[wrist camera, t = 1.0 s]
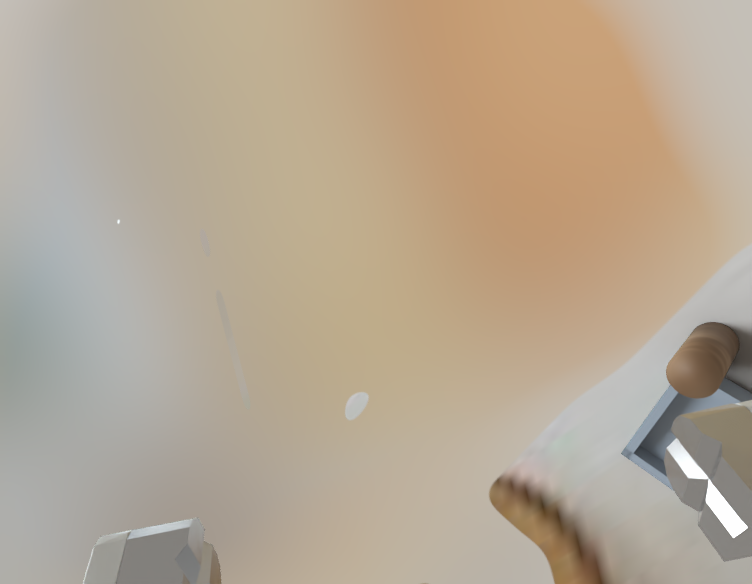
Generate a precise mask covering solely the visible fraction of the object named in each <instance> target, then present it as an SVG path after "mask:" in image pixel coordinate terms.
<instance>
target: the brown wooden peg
mask: <svg viewBox="0 0 752 584" xmlns="http://www.w3.org/2000/svg"><path fill="white" fill-rule="evenodd" d="M738 350H739V340H738V337H737V335H736V334H735V332H734V331H733V330H732V329H730V328H729V327H728V326H726V325H724V324H721V323H716V322H709V323H704V324H701V325H699V326H698V327H697V328H695V329H694V331H693V332H692V333H691V334H690V336H689V337H688V338H687V340H686V341H685V342H684V343H683V345H682V346H681V347H680V349H679V350H678V351H677V352H676V354H675V355H674V356H673V358H672V359H671V360H670V361H669V363H668V365H667V369H666V375H667V379H668V381H669V383H670V385H671V386H672V387H673V388H674V389H675V390H676V391H677V392H679V393H680V394H682V395H684V396H686V397H690V398H696V399H698V398H705V397H708V396H711V395H712V394H714V393H715V392H716V391H717V390H718V388H719V386H720V385H721V383H722V381H723V379H724V377H725V375H726V373H727V371H728V369H729V367H730V366H731V364H732V362H733V360H734V358H735V356H736V354H737V352H738Z"/></svg>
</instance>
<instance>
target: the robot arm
mask: <svg viewBox="0 0 752 584" xmlns="http://www.w3.org/2000/svg"><path fill="white" fill-rule="evenodd" d="M671 431H672V433H673V434H674V435H675V437H676V439H675V440H674V441H673V442H672V443H671V444H670V445H669V446H668V447H667V448H666V453H665V458H664V464H665V469H666V474H667V478H668V480H669V482H670V484H671V486H672V488H673V490H674V491H675V493H676V494H677V496H678V497H679V499H680V500H681V502H683V503H685V504H686V505H688V506H690V507H692V508H693V509H695V510H697V511H699V514H698V526H699V527H700V529H701V530H702V531H703V533H704V534H705V536H706V537H707V538H708V540H709V541H710V542H711V544H712V545H713V547H714V548H715V549H716V551H717V552H718V554H719V555H720V556H721V558H722V559H723V561H724V562H725V561H730V560H735V559H740V558H745V557H750V556H752V400H749V401H744V402H740V403H736V404H732V403H731V404H727V405H722V406H718V407H713V408H709V409H705V410H700V411H696V412H691V413H687V414H682V415H679V416H678V417H677V418H676V419H675V420H674V421H673V425H672V428H671ZM204 531H205V529H204V527H203V526H202V524H201V522H200V520H199V518H193V519H188V520H183V521H177V522H172V523H166V524H161V525H156V526H151V527H145V528H140V529H135V530H129V531H124V532H119V533H114V534H110V535H105V536H101V537H100V538H99V540H98V541H97V543H96V544H95V546H94V547H93V550H92V553H91V557H90V560H89V564H88V567H87V571H86V574H85V578H84V581H83V584H221V572H220V564H219V560H218V557H217V553H216V551H215V549H214V547H213V545H212V544H209V543H207V542H205V541H204Z"/></svg>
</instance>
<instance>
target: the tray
mask: <svg viewBox="0 0 752 584" xmlns="http://www.w3.org/2000/svg"><path fill="white" fill-rule="evenodd" d="M749 400H752V393H750V392H749V391H747V390H745V389H743V388H742V387H740V386H738V385H737V384H735V383H733V382H731V381H730V380H728V379H726V378H725V377H724V379H723V381H722V383H721V385H720V386H719V388H718V390H717V391H716V392H715V393H714V394H712V395H711V396H708V397H705V398H698V399H696V398H690V397H686V396H684V395H682V394H680V393H679V392H677V391H676V390H675V389H674V388H673V387H672V386H671V385H670V386H669V388H668V389H667V390H666V392H665V393H664V395H663V396H662V397H661V399H660V400H659V402H658V403H657V404H656V406H655V407H654V408H653V410H652V411H651V413H650V414H649V415H648V417H647V418H646V420H645V421H644V422H643V424H642V425H641V426H640V428H639V429H638V431H637V432H636V433H635V435H634V436H633V438H632V439H631V440H630V442H629V443H628V444H627V446H626V447H625V449H624V450H623V451H622V453H621V454H622V455H624V456H625V457H627V458H628V459H629V460H631V461H632V462H634V463H635V464H636V465H638V466H639V467H641V468H642V469H644V470H645V471H646V472H648V473H649V474H651V475H652V476H653V477H655V478H656V479H658V480H659V481H661V482H662V483H663V484H665V485H666V486H668V487H669V488H670V489H672V490H673V488H672V486H671V484H670V482H669V480H668V478H667V474H666V469H665V464H664V458H665V453H666V448H667V447H668V446H669V445H670V444H671V443H672V442H673V441H674V440H675V439H676V437H675V435H674V434H673V433H672V431H671V428H672V425H673V421H674V420H675V419H676V418H677V417H678V416H679V415H682V414H687V413H691V412H696V411H700V410H705V409H709V408H713V407H718V406H722V405H727V404H731V403H732V404H736V403H740V402H744V401H749ZM673 491H674V490H673Z"/></svg>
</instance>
